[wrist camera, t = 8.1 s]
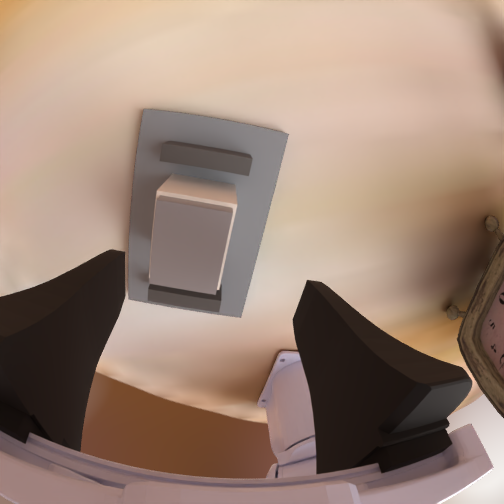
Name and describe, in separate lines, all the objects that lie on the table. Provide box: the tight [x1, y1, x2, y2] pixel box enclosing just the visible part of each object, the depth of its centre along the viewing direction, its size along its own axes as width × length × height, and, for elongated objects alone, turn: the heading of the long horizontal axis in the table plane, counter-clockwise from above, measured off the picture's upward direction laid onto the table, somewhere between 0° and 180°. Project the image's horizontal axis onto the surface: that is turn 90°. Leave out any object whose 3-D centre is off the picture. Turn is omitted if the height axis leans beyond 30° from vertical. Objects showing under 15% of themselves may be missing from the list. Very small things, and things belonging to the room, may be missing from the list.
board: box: [128, 109, 289, 318], centre depth 18 cm, size 14×9×3 cm, turn 167°
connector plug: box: [149, 174, 238, 295], centre depth 16 cm, size 5×4×5 cm
